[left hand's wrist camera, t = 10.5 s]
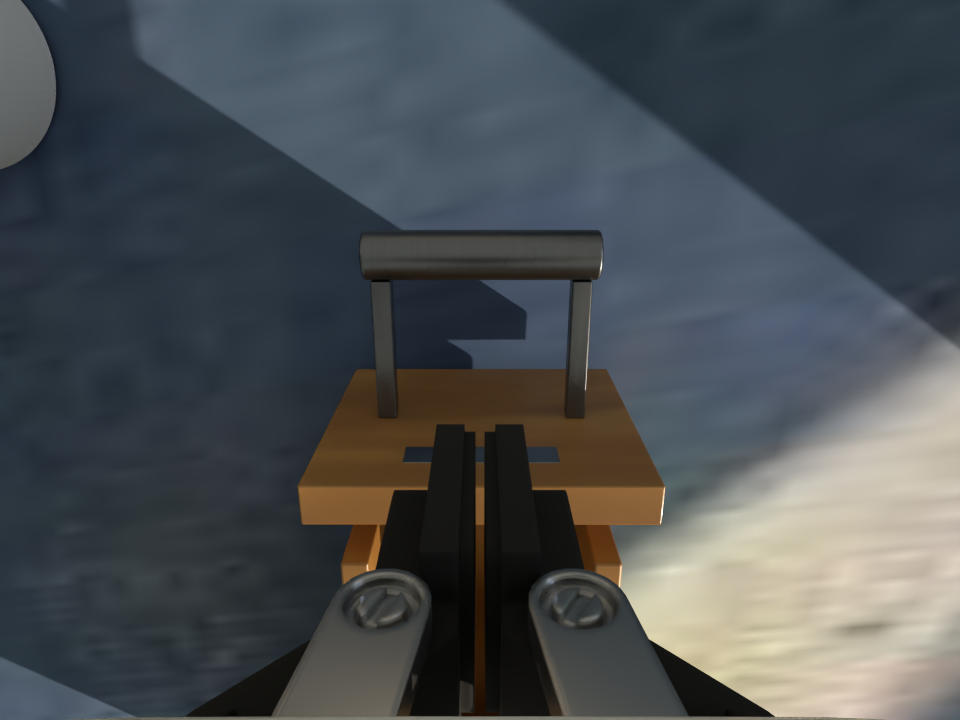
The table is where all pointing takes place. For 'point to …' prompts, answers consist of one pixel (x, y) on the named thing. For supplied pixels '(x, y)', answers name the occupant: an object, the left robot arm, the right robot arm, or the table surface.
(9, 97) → the coffee cup
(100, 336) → the table surface
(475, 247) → the drawer
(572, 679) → the left robot arm
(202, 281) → the table surface
